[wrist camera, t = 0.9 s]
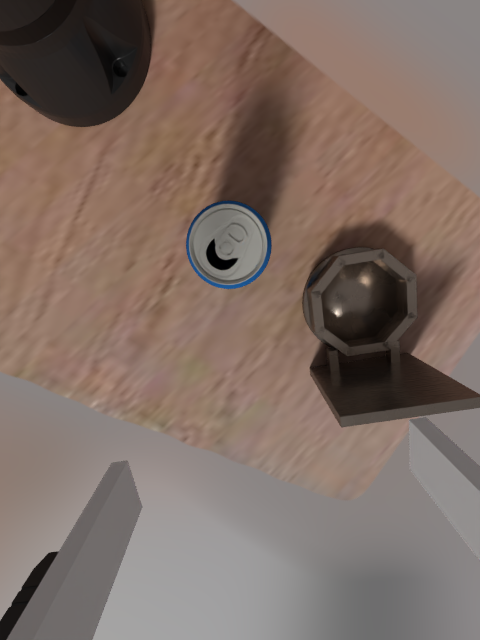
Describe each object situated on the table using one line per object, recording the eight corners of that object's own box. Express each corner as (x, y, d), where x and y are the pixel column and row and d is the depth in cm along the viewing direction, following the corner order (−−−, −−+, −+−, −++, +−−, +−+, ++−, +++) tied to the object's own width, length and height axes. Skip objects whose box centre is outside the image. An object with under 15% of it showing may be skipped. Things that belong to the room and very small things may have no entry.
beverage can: (192, 254, 32) (164, 253, 20) (227, 206, 31) (219, 176, 19) (238, 289, 33) (236, 308, 21) (273, 244, 32) (292, 237, 20)
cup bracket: (296, 257, 32) (324, 257, 21) (403, 239, 31) (487, 230, 21) (310, 375, 35) (341, 427, 24) (407, 360, 35) (483, 407, 24)
